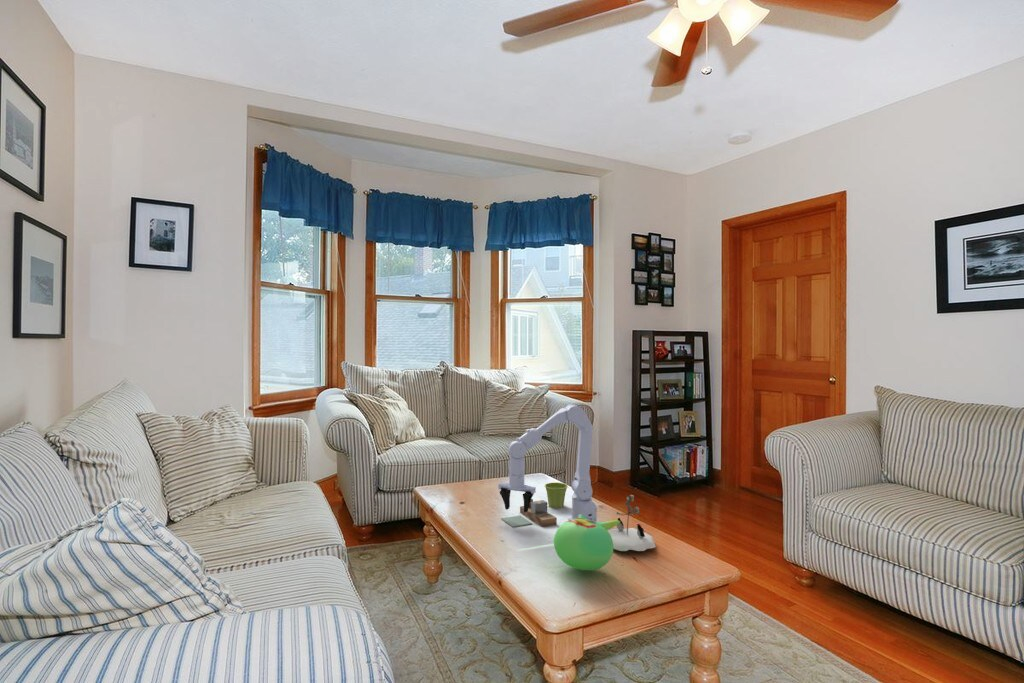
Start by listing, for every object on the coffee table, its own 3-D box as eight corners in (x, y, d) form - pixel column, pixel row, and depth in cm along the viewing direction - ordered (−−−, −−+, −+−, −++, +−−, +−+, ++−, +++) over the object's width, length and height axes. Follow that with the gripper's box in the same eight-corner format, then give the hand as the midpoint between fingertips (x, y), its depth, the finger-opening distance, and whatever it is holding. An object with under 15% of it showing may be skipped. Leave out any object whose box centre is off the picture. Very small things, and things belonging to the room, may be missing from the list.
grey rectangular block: (547, 512, 202) (547, 502, 202) (535, 514, 199) (535, 504, 199) (542, 510, 204) (542, 499, 204) (530, 512, 202) (530, 501, 202)
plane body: (556, 524, 196) (556, 509, 196) (542, 526, 193) (542, 511, 193) (533, 510, 212) (533, 496, 212) (520, 512, 209) (520, 498, 209)
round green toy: (543, 565, 159) (543, 516, 159) (578, 550, 171) (578, 504, 171) (591, 585, 146) (591, 531, 146) (626, 567, 158) (626, 517, 158)
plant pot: (568, 510, 213) (568, 488, 213) (545, 510, 213) (545, 488, 213) (566, 503, 222) (566, 482, 222) (544, 503, 222) (544, 482, 222)
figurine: (587, 536, 184) (587, 489, 185) (632, 529, 191) (632, 484, 191) (618, 558, 166) (618, 505, 166) (667, 550, 172) (667, 499, 172)
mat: (532, 524, 196) (532, 523, 196) (512, 527, 192) (512, 526, 192) (520, 516, 205) (520, 515, 205) (501, 519, 201) (501, 518, 201)
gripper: (538, 473, 199) (538, 509, 199) (504, 469, 206) (504, 504, 205) (531, 477, 193) (531, 515, 193) (495, 473, 199) (495, 509, 199)
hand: (516, 510), depth 199 cm, fingers open, 7 cm apart
